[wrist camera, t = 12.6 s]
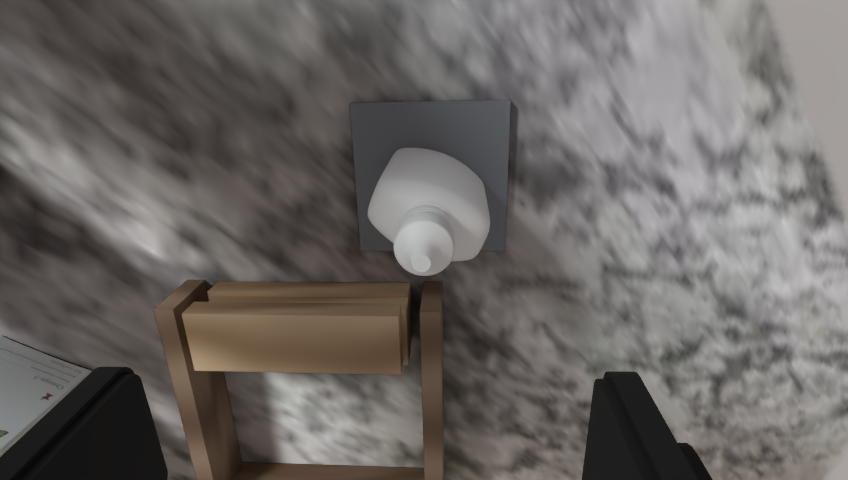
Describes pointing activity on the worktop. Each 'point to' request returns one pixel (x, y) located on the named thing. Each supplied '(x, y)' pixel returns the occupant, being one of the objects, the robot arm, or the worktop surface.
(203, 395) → the walnut rack
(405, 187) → the eye dropper bottle
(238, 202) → the worktop surface
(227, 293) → the wooden block
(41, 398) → the supplement box
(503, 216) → the slate mat
